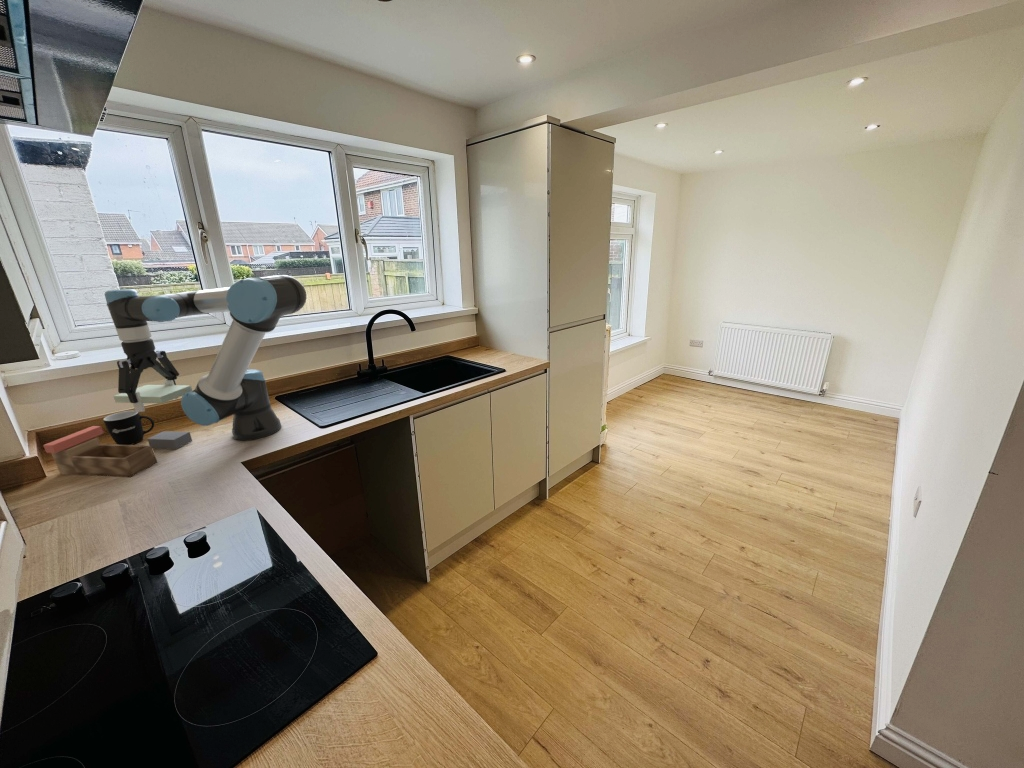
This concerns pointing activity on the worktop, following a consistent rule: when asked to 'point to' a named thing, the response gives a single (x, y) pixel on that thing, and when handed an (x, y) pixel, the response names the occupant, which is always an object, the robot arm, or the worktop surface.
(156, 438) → the lid rest
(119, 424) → the mug
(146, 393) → the lid
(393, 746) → the worktop surface
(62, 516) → the worktop surface
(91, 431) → the red rectangular bar
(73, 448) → the toolbox
